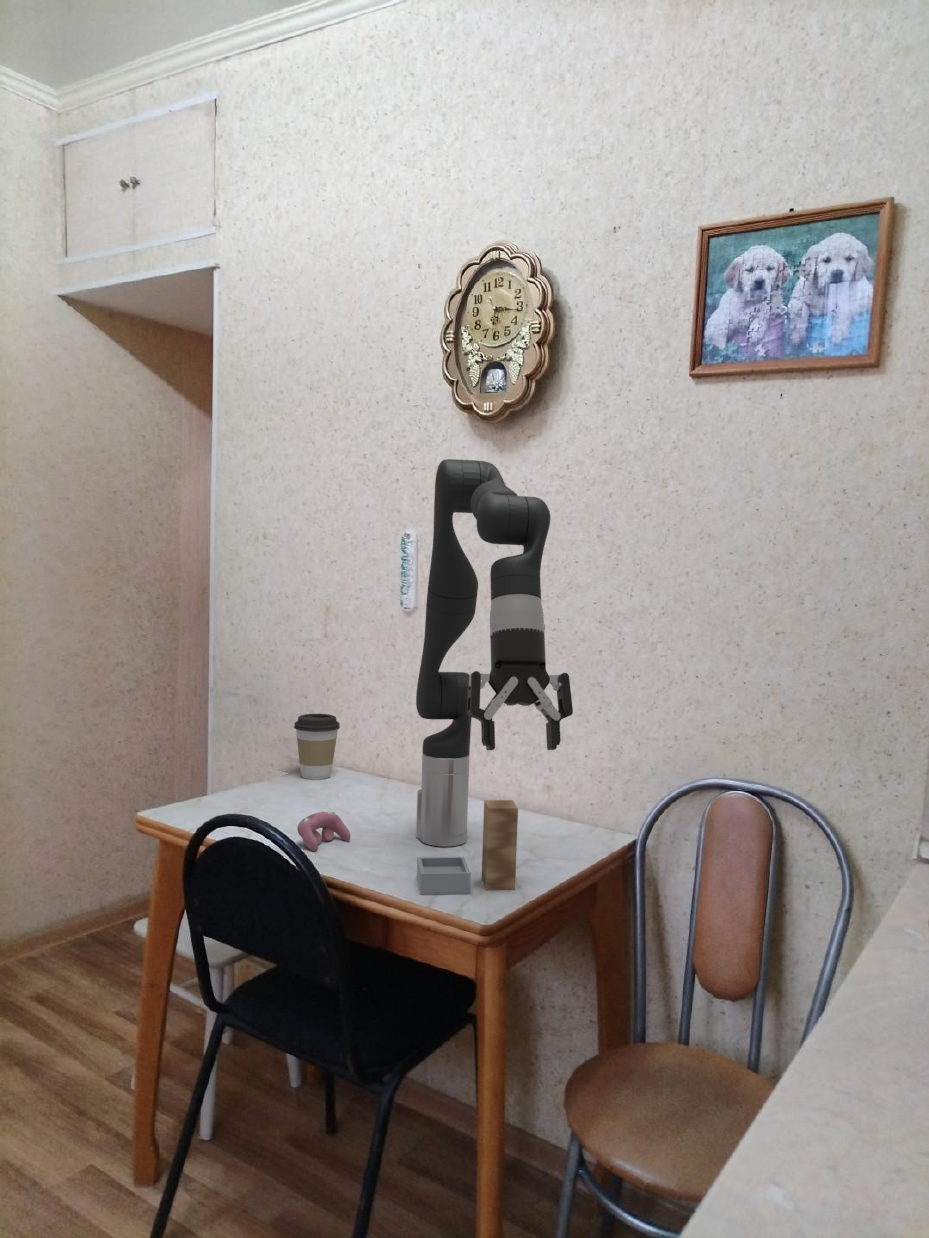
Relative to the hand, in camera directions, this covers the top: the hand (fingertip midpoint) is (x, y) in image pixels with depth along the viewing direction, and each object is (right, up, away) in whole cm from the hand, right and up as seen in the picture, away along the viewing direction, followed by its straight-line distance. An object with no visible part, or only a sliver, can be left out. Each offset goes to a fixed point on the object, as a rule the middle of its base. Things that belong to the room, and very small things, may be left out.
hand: (521, 749), depth 121 cm
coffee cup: (-45, -22, +104) cm, 115 cm away
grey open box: (-11, -28, +32) cm, 44 cm away
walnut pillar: (-2, -28, +33) cm, 44 cm away
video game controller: (-35, -26, +52) cm, 68 cm away
